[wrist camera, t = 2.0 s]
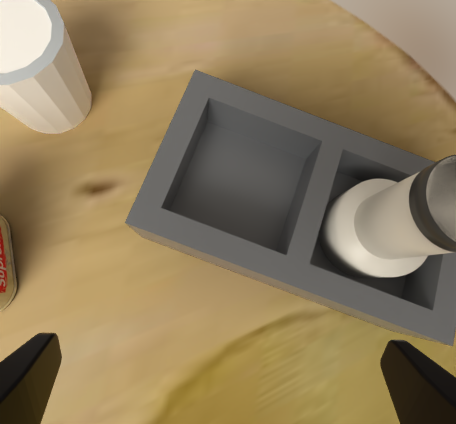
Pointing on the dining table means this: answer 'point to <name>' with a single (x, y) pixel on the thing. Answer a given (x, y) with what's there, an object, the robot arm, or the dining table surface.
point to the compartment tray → (282, 204)
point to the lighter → (6, 266)
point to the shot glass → (40, 68)
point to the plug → (392, 223)
